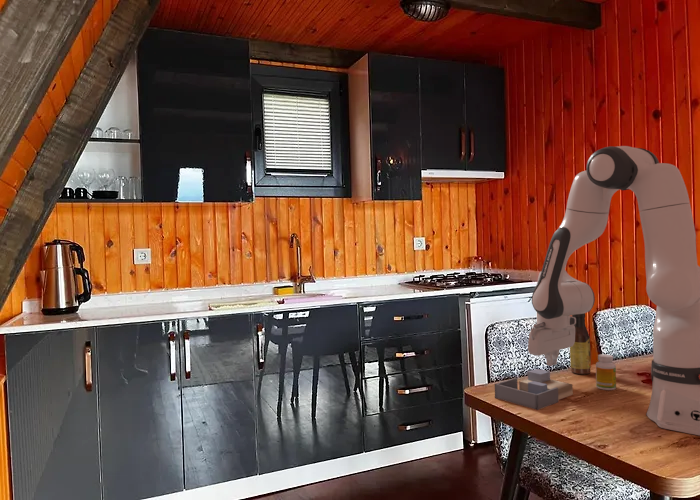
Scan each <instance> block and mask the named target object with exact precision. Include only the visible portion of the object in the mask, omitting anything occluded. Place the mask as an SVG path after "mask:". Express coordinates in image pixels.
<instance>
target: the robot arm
mask: <svg viewBox="0 0 700 500" xmlns="http://www.w3.org/2000/svg"><path fill="white" fill-rule="evenodd" d="M627 190H631V192H633V193H634V195H635V197H636V201H637V205H638V212H639V219H640V224H641V230H642V235H643V243H644V264H645V278H646V287H645V290H646V293H647V297H648V298H649V300H650V301H651V303H653V304H654V305H655V306H656V310H655V319H654V324H653V327H652V328H653V329H652V349H653V351H652V352H653V353H652V354H653V357H652V360H651V363H650V364H651V367H650V369H651V370H650V374H651V375H650V376H651V381H652V388H651V395H650V396H651V397H650V401H649V404H648V405H649V406H648V408H647V412H646V416H647V418H648V419H650V420H651V421H652V422H655V423H656V425H657V426H658V427H659V428H661V429H665V430H671V431H675V432H681V433H686V434H689V435H695V436H700V265H698V257H697V242H696V241H697V240H696V238H697V235H696V227H695V223H694V217H693V213H692V206H691V202H690V198H689V197H690V196H689V193H688V189H687V186H686V184H685V181H684V178H683V176H682V174H681V171H680V169H679V168H678V167H677V166H676V165H674V164H671V163H665V162H664V163H663V162H660V161H659V159H658V157H657V156H656V154H654V153H653V152H651V151H650V150H648V149H646V148H643V147H642V148H641V147H632V146H629V145H620V146H618V145H617V146H614V145H613V146H611V145H610V146H606V147H602V148H600V149H597V150H596V151H594V152H593V153H592V154H591V155H590V157H589V158H588V160H587V162H586V170H584V171H583V170H582V171H581V172H579V173H577V174H576V175H575V177H574V179H573V180H572V184H571V187H570V191H569V193H568V198H567V200H566V201H567V202H566V209H565V213H564V216H563V219H562V222H560V223H561V224H560V225H559V227H558V228H557V229H556V230H555V231H554V233H553V234H552V236H551V239H550V242H549V245H548V247H547V251H546V255H545V258H544V261H543V264H542V268H541V271H540V272H539V274H538V277H537V282H536V286H534V290H533V292H532V296H531V304H532V307H533V309H534V310H535V312H536V323H535V324H533V326H532V328H531V329H530V332H529V334H528V335H529V336H528V343H527V344H528V345H527V351H528V353H529V355H532V356H537V357H540V356H543V355H544V358H545V361H546V366H548V367H552V366H556V365H557V364H558V358H559V355H560V350H564V349H565V350H566V349H568V348H570V347H572V346H573V345H574V343H575V326H574V324H576V318H575V317H572V315H576V314H583V313H585V314H586V313H589V312H590V311H592V309H593V307H594V305H595V303H596V302H595V300H596V299H595V298H596V297H595V292H594V290H593V288H592V287H591V286H590V285H589V284H588V283H587V282H584V281H583V282H582V281H581V280H578V279H576V278H574V277H573V276H571V275H570V274H569V273H568V272H567V270H566V268H567V263H568V260H569V258H570V257H571V255H572V254H573V253H574V252H575V251H576V250H578V249H580V248H582V247H583V246H585V245H587V244H590V243H591V242H593V241H595V240H597V239H598V238H600V237H601V236H602V235H603V233H605V230H606V228H607V225H608V220H609V214H610V206H611V200H612V197H613V196H614V194H615V193H617V191H627Z"/></svg>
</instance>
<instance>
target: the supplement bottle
mask: <svg viewBox="0 0 700 500" xmlns="http://www.w3.org/2000/svg"><path fill="white" fill-rule="evenodd" d="M597 359H598V361H597V362H596V363H595V386H596V388H597V389H599V390H602V391H603V390H604V391H613V390H616V389H617V366H616V364H615V363H614V356H613V355H611V354H607V353H606V354H604V353H603V354H602V353H601V354H598V357H597Z"/></svg>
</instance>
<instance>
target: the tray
mask: <svg viewBox="0 0 700 500" xmlns="http://www.w3.org/2000/svg"><path fill="white" fill-rule="evenodd" d="M494 398H495V399H498V400H501V401H506V402H507V403H511V404H515V405H519V406H522V407H525V408H530V409H532V410H537V411H539V410H541V409H544V408H546V407H550V406H551V405H555V404H557V403H559V400H558V388H557V387H556V388H553V389H550V390H547V391H544V392H541V393H539V394H534V393H530V392H526V391H522V390H519V383H518V377H513V378H510V379H507V380H503V381H500V382H498V383H497V382H496V383H495V384H494Z"/></svg>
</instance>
